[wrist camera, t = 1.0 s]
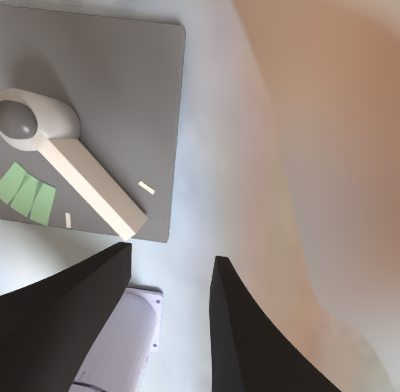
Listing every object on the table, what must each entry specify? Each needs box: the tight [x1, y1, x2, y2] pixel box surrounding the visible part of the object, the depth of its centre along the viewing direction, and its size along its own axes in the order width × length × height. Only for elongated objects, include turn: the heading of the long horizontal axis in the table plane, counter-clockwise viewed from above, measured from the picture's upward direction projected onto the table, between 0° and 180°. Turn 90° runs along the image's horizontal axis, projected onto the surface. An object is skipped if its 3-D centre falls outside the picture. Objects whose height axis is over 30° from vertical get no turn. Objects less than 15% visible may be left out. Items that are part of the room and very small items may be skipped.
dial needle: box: [0, 88, 148, 241], centre depth 15 cm, size 13×4×4 cm, turn 38°
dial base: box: [0, 5, 186, 243], centre depth 17 cm, size 18×22×1 cm
